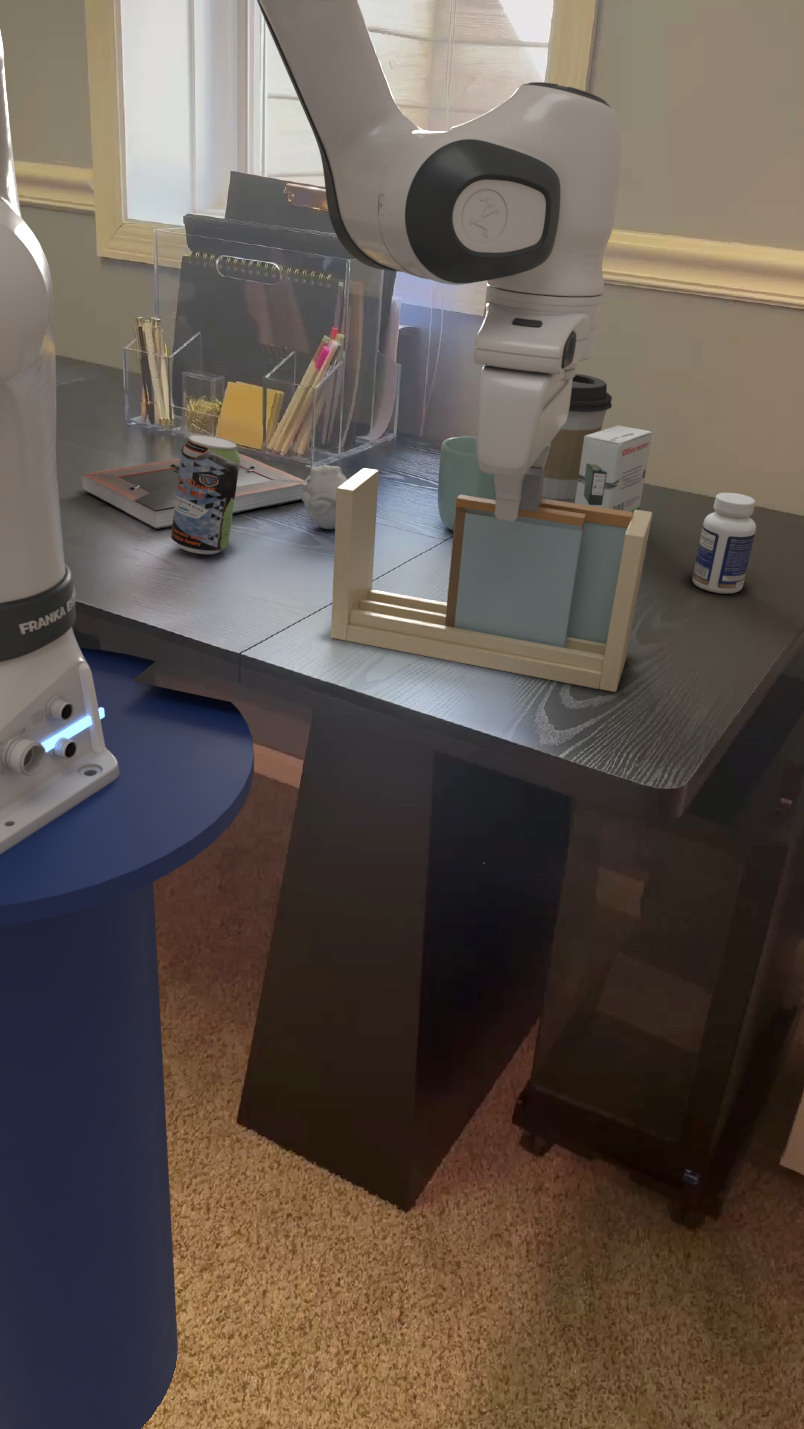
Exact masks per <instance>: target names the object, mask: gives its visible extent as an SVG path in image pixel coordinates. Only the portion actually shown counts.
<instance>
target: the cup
mask: <svg viewBox="0 0 804 1429" xmlns="http://www.w3.org/2000/svg"><path fill="white" fill-rule="evenodd" d="M476 445H477V436H455V437H451V438H447V439H445V440H444V441H442V443H441V447H440V456H439V465H438V466H439V467H438V479H437V480H438V481H437V509H438V514H439V518H440V521H441V522H442V524H443V525H444V526H445V527H446V528H447V529H448V530H451V531H452V532H454V521H455V509H456V499H457V497H458V496H459V495H466V496H473V497H479V498H485V499H492V500H496V493H495V485H494V474H489V473H484V472H482V471H481V470H480V468H479V464H478V459H477V448H476Z"/></svg>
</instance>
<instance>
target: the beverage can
mask: <svg viewBox="0 0 804 1429" xmlns="http://www.w3.org/2000/svg"><path fill="white" fill-rule="evenodd" d="M237 447H238V446H237V443H235V442H234V441H232V440H229V439H226V438H223V437H219V436H216V435H215V436H214V435H207V434H190V435H189V436H188V440H187V442H186V443H185V444H184V445H183V446H182V447H181V451H180V458H179V459H180V467H179V475H178V483H177V491H176V500H175V508H174V516H173V524H172V526H171V533H170V537H171V539H172V541H174V543H176V544H177V547H179V548H180V549H182V550H184V551H186V552H190V553H193V554H199V555H215V554H216V555H217V554H218V553H220V552H221V551H222V550H225V549H227V548H228V546H229V542H230V534H231V528H232V522H233V521H232V520H233V515H234V514H233V508H234V501H235V494H236V487H237V480H238V473H239V466H240V456H239V454H238V453H239V451H238V449H237Z"/></svg>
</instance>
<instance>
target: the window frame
mask: <svg viewBox="0 0 804 1429" xmlns="http://www.w3.org/2000/svg"><path fill="white" fill-rule="evenodd" d="M379 472H380V471H379V470H378V469H373V468H367V467H363V468H360V470H359V471H357V472H356V473H355V474H353V475H352V476H350V477H349V478H348V479H347V481H346V482H344V483H343V484H342V485H340V486H339V487H338V488H337V497H336V523H335V529H334V548H333V549H334V551H333V552H334V553H333V554H334V556H333V575H332V576H333V578H332V602H331V607H332V608H331V630H330V638H331V639H336V640H341V641H346V642H350V643H356V644H361V645H366V646H372V647H377V648H382V649H387V650H392V651H397V652H398V651H399V652H403V653H409V654H412V655H419V656H423V657H429V658H434V659H439V660H445V661H448V662H449V661H450V662H455V663H460V664H465V665H470V666H471V665H472V666H476V667H480V668H487V669H491V670H496V671H497V670H498V671H500V672H501V671H502V672H508V673H512V674H518V675H523V676H528V677H533V678H539V679H544V680H550V681H554V682H559V683H565V684H569V685H575V686H580V687H585V688H591V689H594V690H595V689H596V690H602V691H606V692H612V693H617V690H618V687H619V684H620V682H621V677H622V674H623V670H624V667H625V664H626V662H627V655H628V649H629V644H630V639H631V633H632V627H633V621H634V617H635V612H636V606H637V601H638V594H639V590H640V585H641V579H642V572H643V567H644V562H645V557H646V551H647V545H648V540H649V535H650V529H651V523H652V520H653V519H652V518H653V512H652V511H649V510H642V509H641V510H640V509H639V510H635V511H634V514H633V512H628V511H621V510H615V509H608V508H602V507H595V506H589V505H582V504H576V503H569V502H563V501H556V500H550V499H543V498H541V505H540V506H539V507H543V508H550V509H556V510H563V511H569V512H575V513H582V514H586V517H585V524H584V530H583V537H582V543H581V550H580V556H579V563H578V569H577V576H576V583H575V589H574V596H573V602H572V609H571V615H570V622H569V629H568V635H567V642H566V648H562V647H557V646H551V645H546V644H540V643H535V642H530V641H524V640H519V639H513V638H508V637H502V636H497V635H492V634H486V633H481V632H475V631H470V630H465V629H459V628H454V627H448V626H445V618H446V607H447V602H444V601H439V600H433V599H428V598H424V597H423V598H421V597H416V596H410V595H405V594H400V593H394V592H388V591H384V590H379V589H373V578H374V562H375V561H374V559H375V543H376V526H377V524H376V523H377V511H378V510H377V507H378V492H379V491H378V490H379V475H380V474H379Z"/></svg>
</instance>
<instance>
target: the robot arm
mask: <svg viewBox="0 0 804 1429" xmlns="http://www.w3.org/2000/svg"><path fill="white" fill-rule="evenodd" d="M256 2H257V4H258V7H259V9H260V12H261V14H262V16H263V17H262V18H264V21H265V24H266V26H267V28H268V31H269V33H270V36H271V38H272V41H273V42H274V45H275V47H276V50H277V52H278V54H279V56H280V59H281V61H282V63H283V66H284V68H285V70H286V73H287V75H288V77H289V79H290V82H291V84H292V87H293V89H294V91H295V94H296V96H297V98H298V100H299V103H300V105H301V107H302V109H303V112H304V115H305V116H306V119H307V121H308V123H309V126H310V128H311V131H312V133H313V136H314V138H315V141H316V145H317V147H318V151H319V154H320V160H321V165H322V170H323V179H324V188H325V190H324V191H325V197H326V206H327V211H328V216H329V220H330V222H331V226H332V228H333V230H334V233H335V235H336V237H337V239H338V240H339V242H340V243H341V245H342V246H343V248H344V249H345V250H346V251H347V252H348V253H349V254H350V255H351V256H352V257H353V258H354V259H355V260H357V261H359V262H360V263H362V264H364V265H365V266H367V267H370V268H373V269H377V270H382V271H391V272H398V273H399V272H400V273H404V274H408V275H410V276H414V277H417V278H420V279H425V280H430V281H434V282H436V283H440V284H445V285H452V286H461V285H468V284H473V283H479V282H480V283H481V282H485V281H486V291H485V302H484V309H483V316H482V323H481V325H480V328H479V330H478V332H477V334H476V337H475V341H474V352H473V362H474V364H476V365H478V366H479V365H480V366H482V368H481V371H480V374H479V380H478V391H477V412H476V413H477V414H476V415H477V416H476V437H477V445H476V448H477V459H478V464H479V468H480V470H481V471H482V472H484V473H489V474H494V485H495V493H496V506H495V517H496V518H497V519H498V520H503V521H509V522H513V521H515V520H516V518H517V517H518V516H519V514H520V510H521V502H522V496H521V489H522V480H523V479H524V475H525V474H526V473H527V471H528V470H529V469H530V468H532V469H539V470H544V466H545V463H546V460H547V456H548V452H549V449H550V445H551V441H552V440H553V438H554V437H555V436H556V435H557V433H558V432H559V431H560V429H561V428H562V427H563V426H564V424H565V423H566V420H567V417H568V412H569V407H570V398H571V390H572V381H573V378H574V377H575V374H576V371H577V368H576V367H577V364H578V362H583V361H587V360H591V359H592V358H594V356H595V353H596V346H597V340H598V339H597V338H598V333H599V332H598V331H599V325H600V318H601V313H602V304H603V297H604V291H605V290H604V289H605V283H604V275H603V262H604V255H605V251H606V248H607V245H608V243H609V240H610V238H611V235H612V233H613V229H614V223H615V217H616V216H615V214H616V210H617V201H618V193H619V183H620V172H621V152H622V151H621V150H622V149H621V131H620V123H619V119H618V115H617V113H616V111H615V109H614V108H613V107H612V106H611V105H610V104H608V102H607V101H606V100H605V99H603V98H601V97H600V96H598V95H595V94H594V93H591V92H589V91H585V90H582V89H579V88H576V87H573V86H564V85H560V84H558V83H553V82H543V81H532V82H528V83H523V84H521V85H520V86H518V87H517V88H516V90H515V92H514V93H513V94H512V95H511V96H509V98H507V99H505V100H504V101H502V103H500V104H499V105H497V106H496V107H494V108H493V109H490V110H489V111H487V112H486V113H483V114H482V115H480V116H478V117H475V118H474V119H472V120H469V121H467V122H464V123H461V124H458V125H455V126H452V127H451V128H450V130H447V131H443V130H441V131H439V130H437V131H431V130H424V129H422V128H421V127H419V126H418V125H416V124H415V123H414V122H413V121H411V119H409V118H408V117H407V116H406V115H405V114H404V112H403V111H402V110H401V109H400V107H399V106H398V104H397V103H396V100H395V98H394V96H393V94H392V91H391V88H390V86H389V83H388V80H387V77H386V75H385V72H384V69H383V67H382V64H381V61H380V59H379V56H378V53H377V51H376V48H375V45H374V43H373V40H372V37H371V34H370V31H369V29H368V27H367V23H366V20H365V17H364V16H363V12H362V10H361V7H360V4H359V1H358V0H256ZM6 85H7V83H6V72H5V53H4V44H3V38H2V31H1V30H0V854H2V853H4V852H5V851H7V850H8V849H10V848H11V847H13V846H14V845H16V844H17V843H19V842H21V841H22V840H24V839H25V838H27V837H28V836H30V835H31V834H33V833H34V832H36V831H38V830H39V829H41V828H42V827H44V826H45V825H47V824H48V823H50V822H51V821H53V820H54V819H56V818H58V817H59V816H61V815H62V814H64V813H65V812H67V811H68V810H70V809H71V808H73V807H75V806H76V805H78V804H79V803H81V802H82V801H84V800H85V799H87V798H88V797H90V796H91V795H93V794H95V793H96V792H98V791H99V790H101V789H102V788H104V787H105V786H107V785H108V784H110V783H112V782H113V781H115V780H116V779H117V778H118V777H119V775H120V772H119V767H118V762H117V760H116V758H115V757H114V756H113V755H112V753H111V752H109V751H108V750H107V748H106V747H105V743H104V737H103V732H102V726H101V720H100V719H102V718H103V717H105V716H104V708H101V707H100V708H99V709H98V704H97V698H96V693H95V688H94V683H93V677H92V673H91V670H90V667H89V665H88V663H87V662H86V660H85V658H84V656H83V654H82V652H81V650H80V648H81V647H80V645H79V643H78V641H77V638H76V635H75V633H74V632H75V631H74V629H73V626H74V624H75V622H76V620H77V611H76V602H77V601H76V600H77V594H76V587H75V586H74V582H73V574H72V570H71V568H70V567H69V566H68V565H67V563H65V552H64V538H63V529H62V517H61V505H60V504H61V503H60V493H59V492H60V490H59V481H58V480H59V479H58V470H57V362H56V361H57V360H56V358H57V356H56V355H57V354H56V331H55V330H56V329H55V327H56V326H55V309H54V308H55V307H54V306H55V305H54V289H53V288H54V287H53V280H52V279H53V278H52V273H51V270H50V265H49V262H48V259H47V257H46V256H47V255H46V254H45V252H44V250H43V248H42V245H41V244H40V242H39V240H38V238H37V237H36V235H35V234H34V232H33V231H32V229H31V228H30V227H29V226H28V224H27V223H26V221H25V220H24V219H23V218H22V213H21V207H20V199H19V191H18V185H17V176H16V169H15V160H14V152H13V143H12V133H11V125H10V116H9V104H8V95H7V93H8V92H7V86H6Z"/></svg>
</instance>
